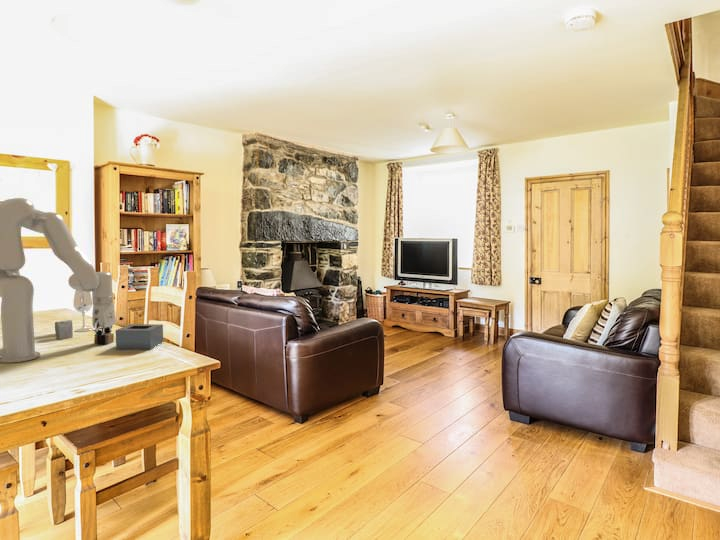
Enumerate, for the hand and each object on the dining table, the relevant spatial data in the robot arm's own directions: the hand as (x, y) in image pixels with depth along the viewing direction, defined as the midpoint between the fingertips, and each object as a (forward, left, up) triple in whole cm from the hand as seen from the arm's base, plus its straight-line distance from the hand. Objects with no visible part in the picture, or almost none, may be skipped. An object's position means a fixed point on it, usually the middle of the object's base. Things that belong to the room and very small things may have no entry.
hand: (104, 342), depth 194 cm
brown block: (0, 0, 0) cm, 0 cm away
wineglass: (-8, +34, 0) cm, 35 cm away
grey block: (-16, +20, -1) cm, 26 cm away
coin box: (+13, -13, 0) cm, 18 cm away
